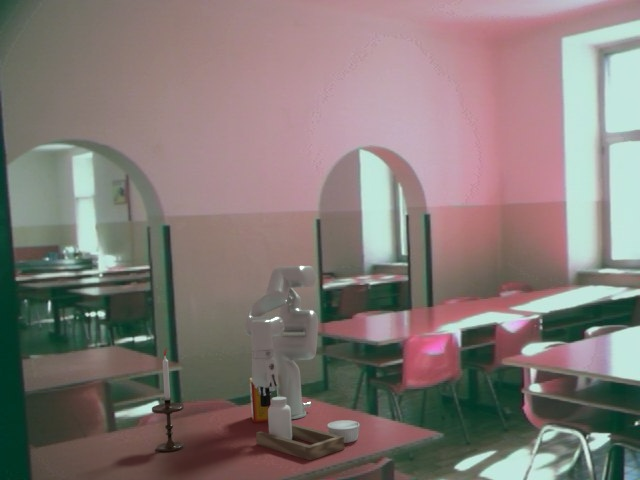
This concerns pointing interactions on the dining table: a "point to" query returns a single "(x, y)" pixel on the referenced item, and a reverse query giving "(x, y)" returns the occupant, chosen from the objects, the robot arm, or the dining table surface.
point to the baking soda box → (257, 405)
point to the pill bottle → (280, 418)
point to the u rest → (322, 440)
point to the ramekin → (345, 429)
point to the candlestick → (168, 412)
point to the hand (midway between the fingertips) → (265, 405)
